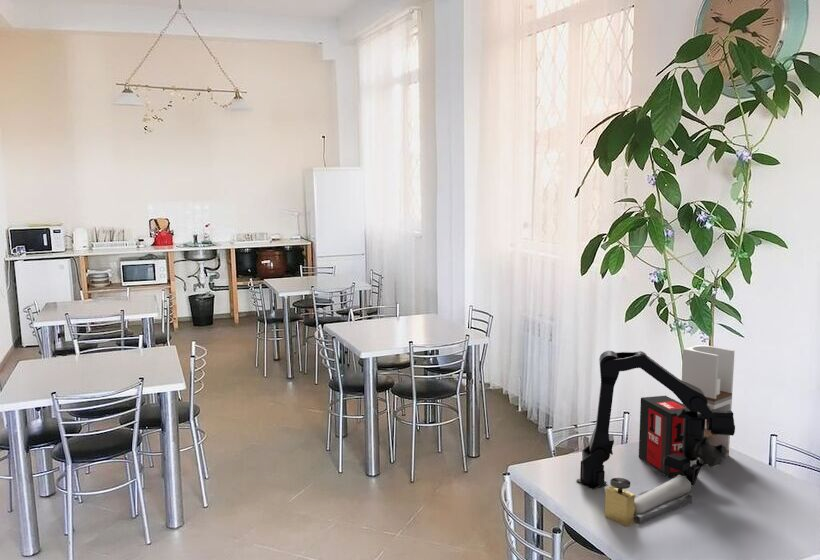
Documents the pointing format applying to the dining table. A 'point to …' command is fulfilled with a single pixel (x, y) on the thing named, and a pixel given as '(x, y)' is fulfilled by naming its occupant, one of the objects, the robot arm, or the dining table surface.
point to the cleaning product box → (660, 432)
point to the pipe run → (623, 506)
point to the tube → (662, 494)
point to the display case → (711, 380)
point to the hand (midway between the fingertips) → (691, 484)
